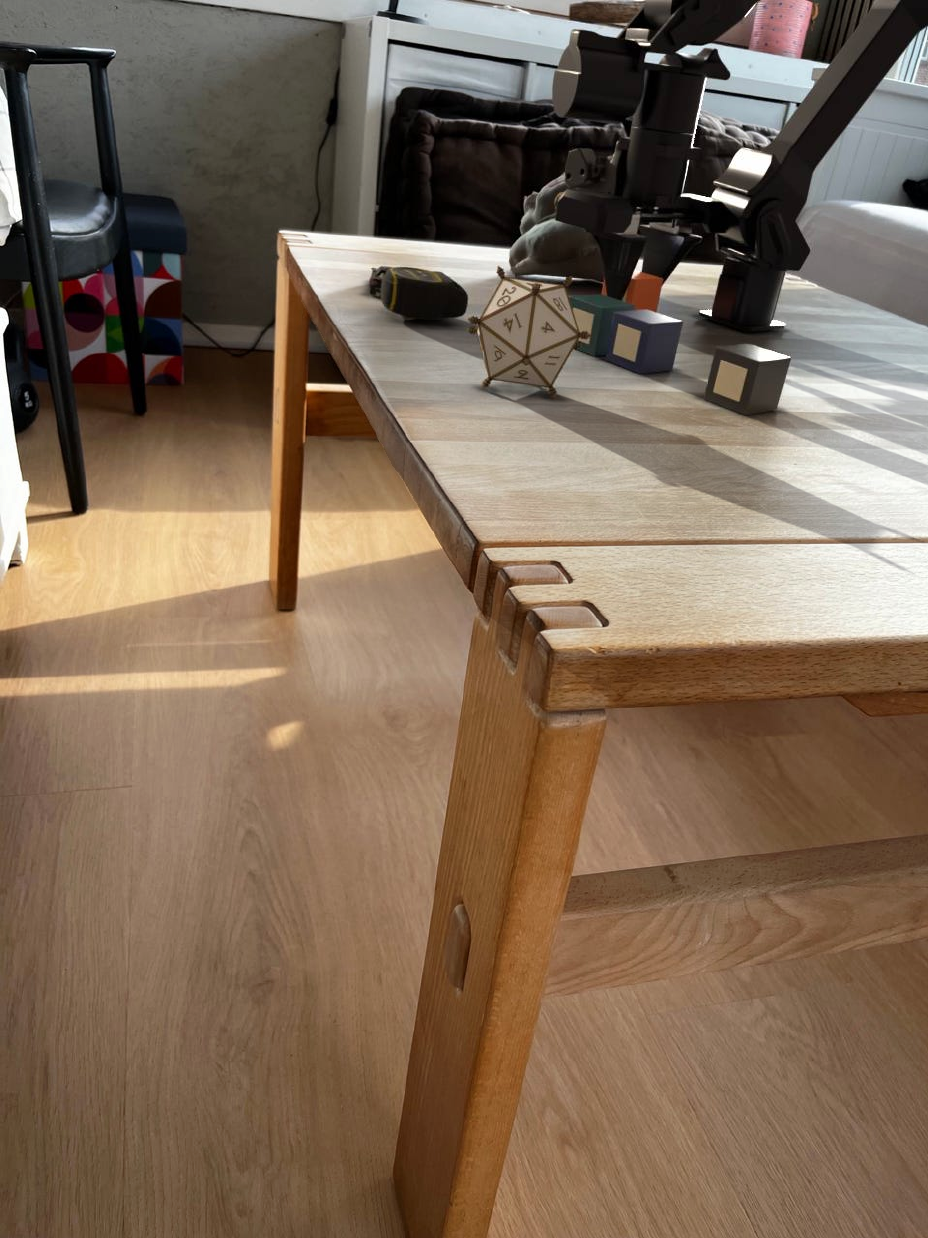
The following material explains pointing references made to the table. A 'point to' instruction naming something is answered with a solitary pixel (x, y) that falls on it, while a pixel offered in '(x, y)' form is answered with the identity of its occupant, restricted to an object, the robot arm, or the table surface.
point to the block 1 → (596, 320)
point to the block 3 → (746, 378)
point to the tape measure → (422, 294)
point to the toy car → (377, 279)
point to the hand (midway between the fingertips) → (628, 305)
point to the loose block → (642, 291)
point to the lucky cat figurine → (553, 241)
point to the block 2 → (643, 341)
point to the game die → (527, 332)
